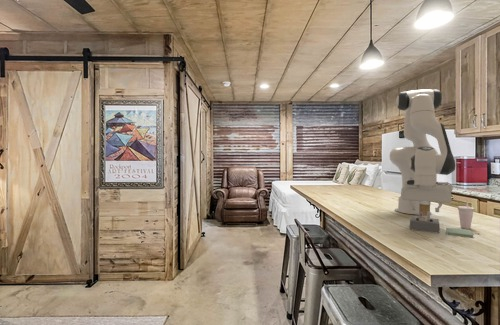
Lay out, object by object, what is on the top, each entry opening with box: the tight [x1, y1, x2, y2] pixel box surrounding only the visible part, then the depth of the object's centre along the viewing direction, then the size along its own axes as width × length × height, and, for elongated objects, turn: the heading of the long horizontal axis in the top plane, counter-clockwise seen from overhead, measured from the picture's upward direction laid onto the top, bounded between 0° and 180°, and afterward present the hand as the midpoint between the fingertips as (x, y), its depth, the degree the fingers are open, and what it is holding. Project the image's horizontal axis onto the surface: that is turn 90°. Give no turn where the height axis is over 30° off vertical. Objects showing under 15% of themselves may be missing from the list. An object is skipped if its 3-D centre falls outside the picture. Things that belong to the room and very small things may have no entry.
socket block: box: [409, 215, 441, 234], centre depth 134 cm, size 11×11×4 cm
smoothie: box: [457, 197, 475, 230], centre depth 135 cm, size 6×6×14 cm
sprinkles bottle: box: [418, 201, 432, 222], centre depth 134 cm, size 5×5×13 cm
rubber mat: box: [445, 227, 474, 238], centre depth 126 cm, size 9×9×1 cm
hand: (425, 211), depth 134 cm, fingers open, 8 cm apart
